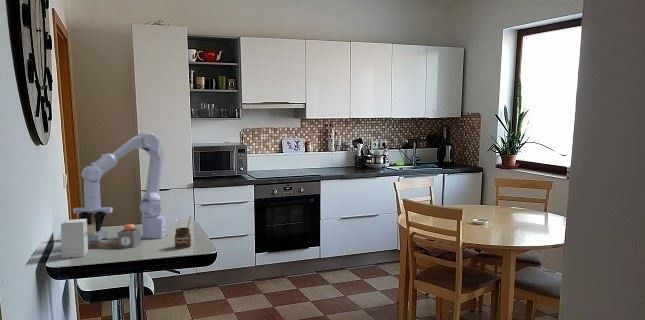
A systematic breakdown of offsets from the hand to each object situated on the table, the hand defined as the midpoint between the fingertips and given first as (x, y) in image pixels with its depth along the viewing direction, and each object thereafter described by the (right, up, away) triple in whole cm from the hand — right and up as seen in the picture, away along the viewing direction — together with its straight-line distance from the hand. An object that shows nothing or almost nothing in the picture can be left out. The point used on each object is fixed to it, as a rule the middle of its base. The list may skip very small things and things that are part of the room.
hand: (93, 231), depth 181 cm
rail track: (+2, -6, 0) cm, 6 cm away
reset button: (+14, 0, 0) cm, 14 cm away
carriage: (0, -3, 0) cm, 3 cm away
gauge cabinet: (+14, -6, 0) cm, 15 cm away
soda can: (-11, -5, +14) cm, 19 cm away
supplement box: (0, -7, -13) cm, 15 cm away
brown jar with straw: (+36, -6, -3) cm, 37 cm away
